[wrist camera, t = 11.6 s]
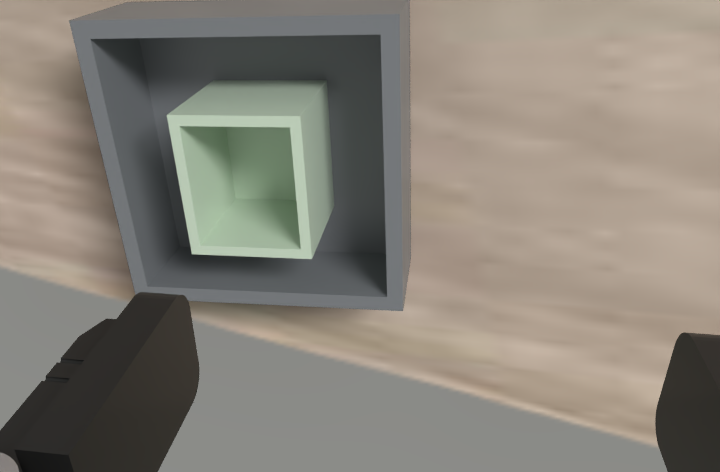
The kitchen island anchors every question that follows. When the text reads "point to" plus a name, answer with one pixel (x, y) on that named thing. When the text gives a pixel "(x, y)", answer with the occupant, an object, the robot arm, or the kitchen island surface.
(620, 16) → the kitchen island surface
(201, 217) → the sage crate
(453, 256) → the kitchen island surface
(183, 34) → the charcoal crate
